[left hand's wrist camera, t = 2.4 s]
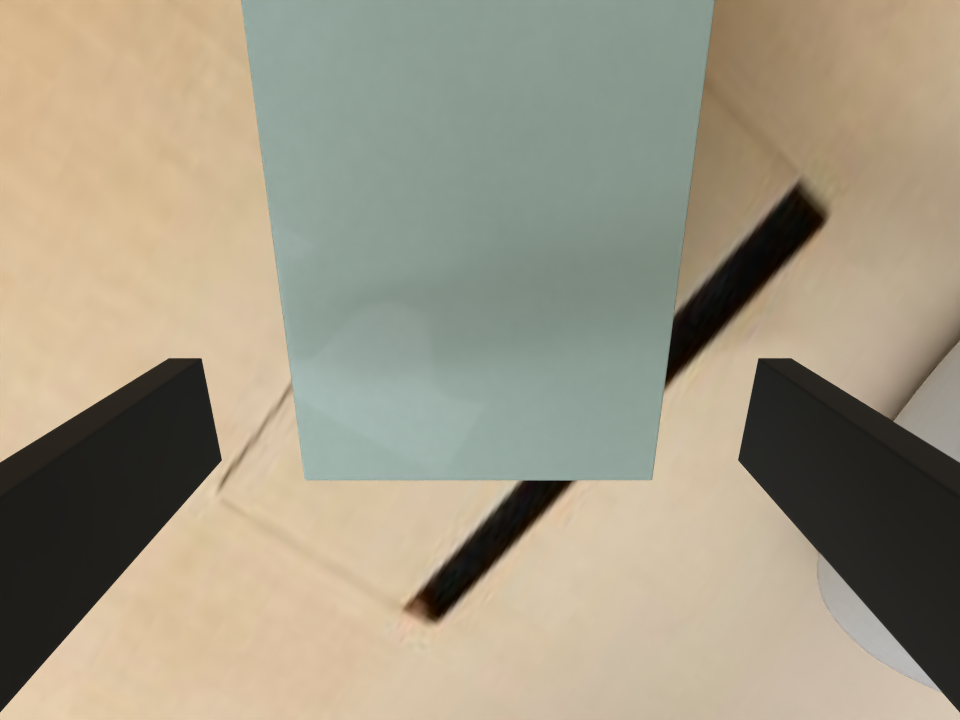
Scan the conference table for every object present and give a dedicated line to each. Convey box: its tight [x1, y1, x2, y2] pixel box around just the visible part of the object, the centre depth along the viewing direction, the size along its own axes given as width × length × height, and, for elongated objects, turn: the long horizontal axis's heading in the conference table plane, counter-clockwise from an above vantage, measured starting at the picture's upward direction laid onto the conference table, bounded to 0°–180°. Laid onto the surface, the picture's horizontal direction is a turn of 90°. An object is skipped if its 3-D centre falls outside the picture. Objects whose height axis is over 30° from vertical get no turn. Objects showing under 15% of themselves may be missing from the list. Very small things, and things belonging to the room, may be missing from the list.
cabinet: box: [241, 0, 715, 480], centre depth 19 cm, size 20×12×10 cm, turn 0°
